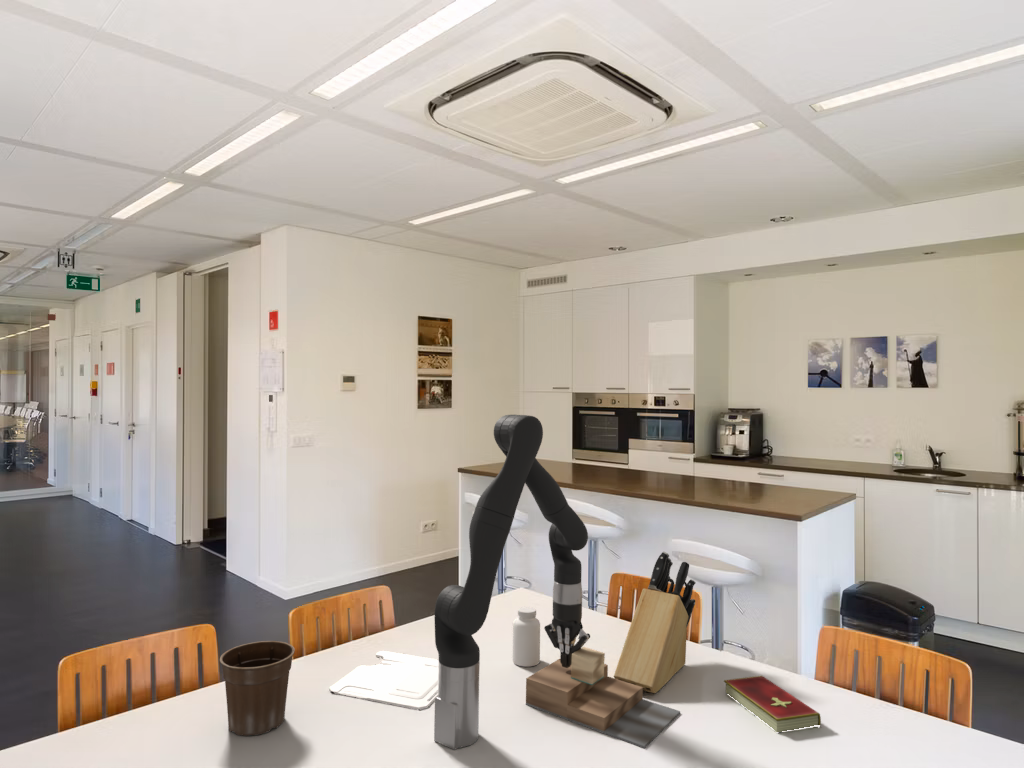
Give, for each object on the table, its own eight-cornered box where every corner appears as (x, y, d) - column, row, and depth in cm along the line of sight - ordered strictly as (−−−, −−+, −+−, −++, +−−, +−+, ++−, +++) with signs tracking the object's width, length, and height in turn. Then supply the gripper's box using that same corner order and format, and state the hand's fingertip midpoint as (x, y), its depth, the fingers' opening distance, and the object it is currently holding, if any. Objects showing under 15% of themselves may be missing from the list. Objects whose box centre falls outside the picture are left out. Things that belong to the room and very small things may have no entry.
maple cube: (592, 685, 159) (592, 660, 159) (571, 677, 162) (571, 653, 162) (603, 676, 163) (604, 652, 163) (583, 669, 167) (583, 646, 167)
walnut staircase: (644, 748, 142) (644, 718, 143) (525, 704, 162) (526, 678, 162) (680, 713, 158) (680, 686, 159) (568, 677, 178) (568, 653, 178)
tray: (325, 694, 167) (325, 688, 167) (381, 653, 193) (381, 648, 193) (424, 713, 158) (424, 707, 158) (468, 667, 184) (468, 662, 184)
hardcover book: (763, 690, 173) (763, 674, 173) (820, 730, 152) (820, 711, 153) (723, 695, 169) (723, 679, 170) (777, 736, 149) (777, 718, 149)
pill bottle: (540, 657, 191) (541, 605, 191) (538, 668, 183) (539, 615, 183) (513, 655, 192) (514, 604, 192) (510, 666, 184) (511, 613, 184)
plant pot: (220, 712, 156) (222, 644, 156) (292, 701, 161) (293, 636, 161) (215, 747, 140) (217, 672, 141) (294, 734, 146) (296, 662, 146)
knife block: (697, 654, 195) (699, 551, 195) (652, 699, 165) (654, 577, 166) (662, 646, 201) (663, 545, 201) (612, 687, 172) (614, 570, 172)
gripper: (537, 597, 168) (536, 664, 168) (582, 607, 160) (581, 678, 160) (553, 590, 174) (552, 655, 174) (597, 600, 166) (596, 668, 166)
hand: (566, 666), depth 167 cm, fingers closed
